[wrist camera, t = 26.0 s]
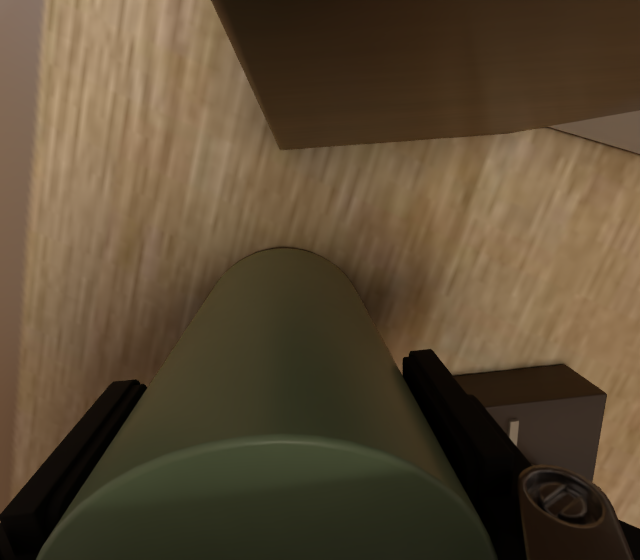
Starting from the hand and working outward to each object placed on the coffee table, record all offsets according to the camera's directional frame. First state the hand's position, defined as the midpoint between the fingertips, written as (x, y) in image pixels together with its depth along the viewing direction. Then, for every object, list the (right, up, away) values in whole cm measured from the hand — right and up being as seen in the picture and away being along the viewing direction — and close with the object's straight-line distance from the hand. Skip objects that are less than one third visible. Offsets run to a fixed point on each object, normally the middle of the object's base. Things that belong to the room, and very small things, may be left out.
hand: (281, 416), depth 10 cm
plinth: (+4, +13, +3) cm, 14 cm away
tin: (0, +2, +6) cm, 6 cm away
